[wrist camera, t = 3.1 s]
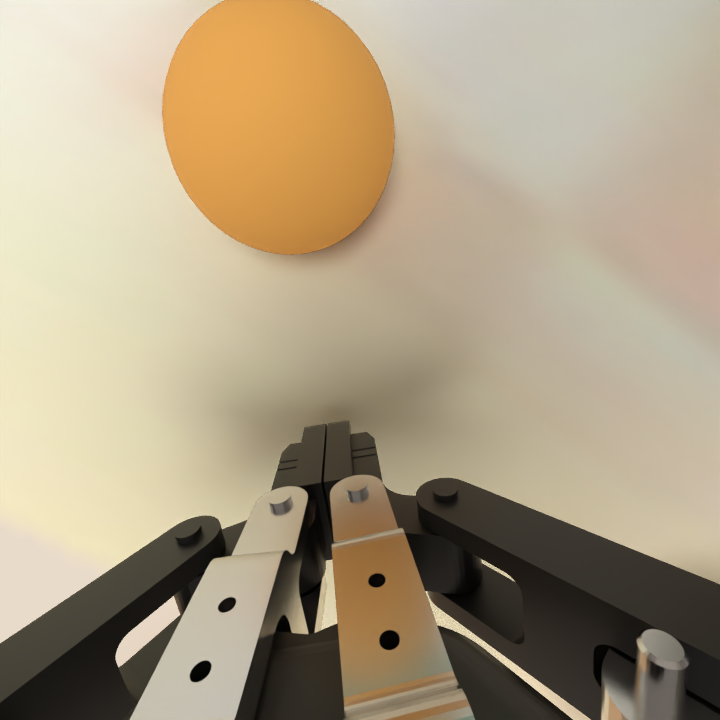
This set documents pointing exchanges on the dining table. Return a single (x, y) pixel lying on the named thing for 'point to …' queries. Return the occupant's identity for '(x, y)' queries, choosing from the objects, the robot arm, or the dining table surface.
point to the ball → (278, 124)
